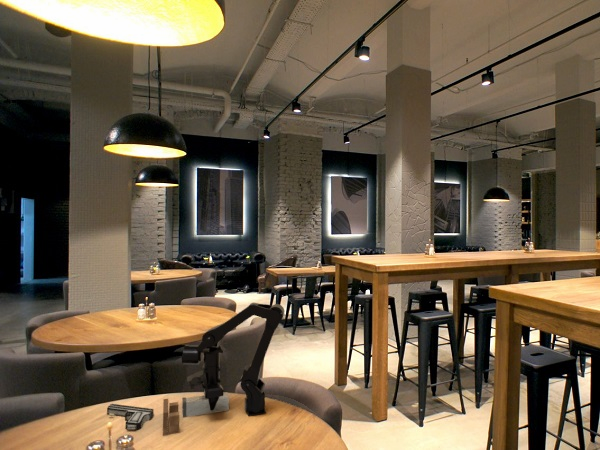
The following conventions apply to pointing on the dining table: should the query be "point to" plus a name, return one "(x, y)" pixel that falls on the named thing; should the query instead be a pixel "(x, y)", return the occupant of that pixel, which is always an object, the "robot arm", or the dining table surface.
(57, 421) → the dining table surface
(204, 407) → the rail
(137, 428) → the handgun
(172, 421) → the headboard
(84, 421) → the dining table surface
